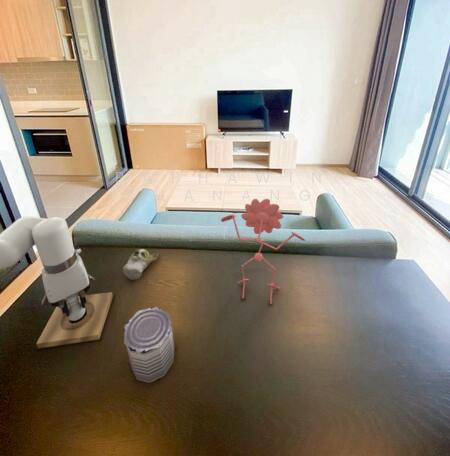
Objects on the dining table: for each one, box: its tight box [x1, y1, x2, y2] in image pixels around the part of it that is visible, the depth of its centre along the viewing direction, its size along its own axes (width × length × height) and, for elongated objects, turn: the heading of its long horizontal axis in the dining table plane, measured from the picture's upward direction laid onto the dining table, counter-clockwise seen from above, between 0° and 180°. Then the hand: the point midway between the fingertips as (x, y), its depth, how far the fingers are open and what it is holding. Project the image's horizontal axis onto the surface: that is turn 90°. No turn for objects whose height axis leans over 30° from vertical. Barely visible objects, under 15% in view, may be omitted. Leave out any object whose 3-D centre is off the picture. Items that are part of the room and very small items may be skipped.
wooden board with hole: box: [35, 291, 114, 350], centre depth 75 cm, size 16×14×2 cm
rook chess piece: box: [66, 292, 86, 322], centre depth 73 cm, size 4×4×8 cm
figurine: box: [220, 198, 306, 305], centre depth 80 cm, size 15×26×35 cm, turn 77°
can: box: [123, 306, 175, 384], centre depth 63 cm, size 11×11×12 cm
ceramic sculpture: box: [122, 248, 161, 281], centre depth 92 cm, size 11×9×15 cm
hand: (75, 308), depth 73 cm, fingers closed on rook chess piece, 3 cm apart
